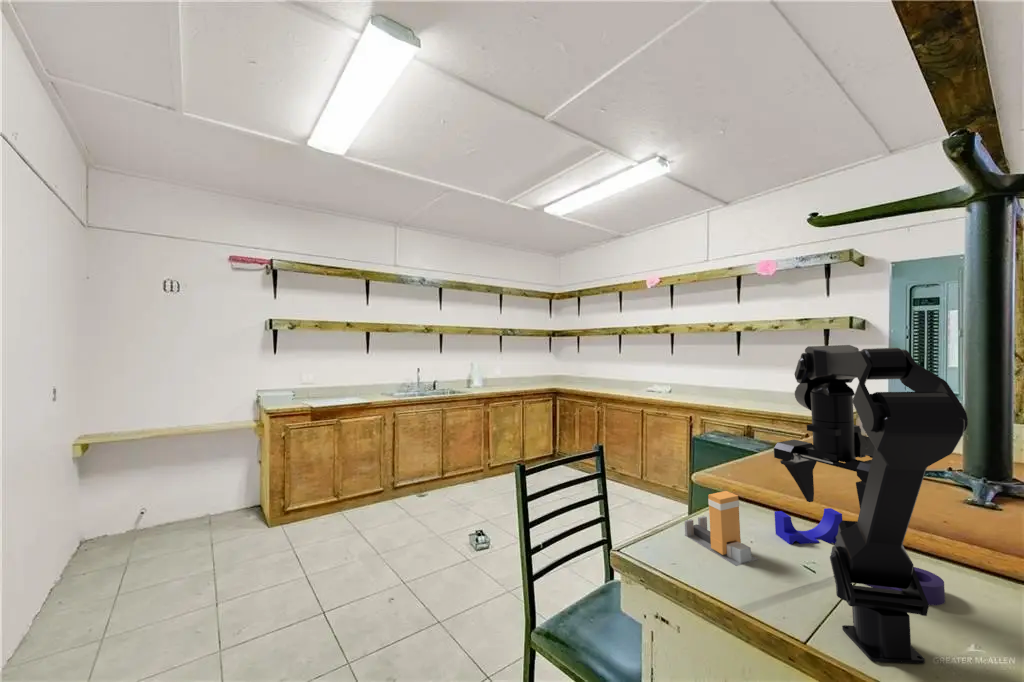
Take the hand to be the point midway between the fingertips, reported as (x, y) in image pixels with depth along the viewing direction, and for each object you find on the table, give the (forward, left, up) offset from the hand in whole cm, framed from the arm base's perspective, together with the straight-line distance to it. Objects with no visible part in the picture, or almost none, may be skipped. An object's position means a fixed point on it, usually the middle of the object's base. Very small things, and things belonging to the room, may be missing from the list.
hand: (836, 511), depth 73 cm
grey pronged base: (+12, +16, -13) cm, 24 cm away
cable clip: (+16, -4, -13) cm, 21 cm away
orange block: (+10, +15, -12) cm, 22 cm away
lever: (0, -8, -14) cm, 16 cm away
